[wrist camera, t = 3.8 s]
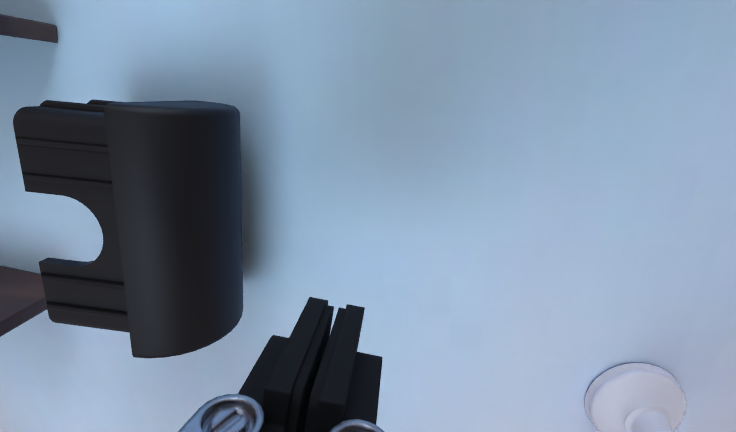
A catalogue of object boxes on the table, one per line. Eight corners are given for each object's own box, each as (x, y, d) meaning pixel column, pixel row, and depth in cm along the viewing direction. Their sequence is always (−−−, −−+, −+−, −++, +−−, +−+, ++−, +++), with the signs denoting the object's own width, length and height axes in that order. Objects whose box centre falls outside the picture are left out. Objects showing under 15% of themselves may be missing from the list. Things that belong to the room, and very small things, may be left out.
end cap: (265, 290, 22) (206, 370, 16) (144, 275, 23) (39, 347, 16) (265, 105, 19) (192, 111, 13) (126, 93, 20) (-12, 92, 13)
